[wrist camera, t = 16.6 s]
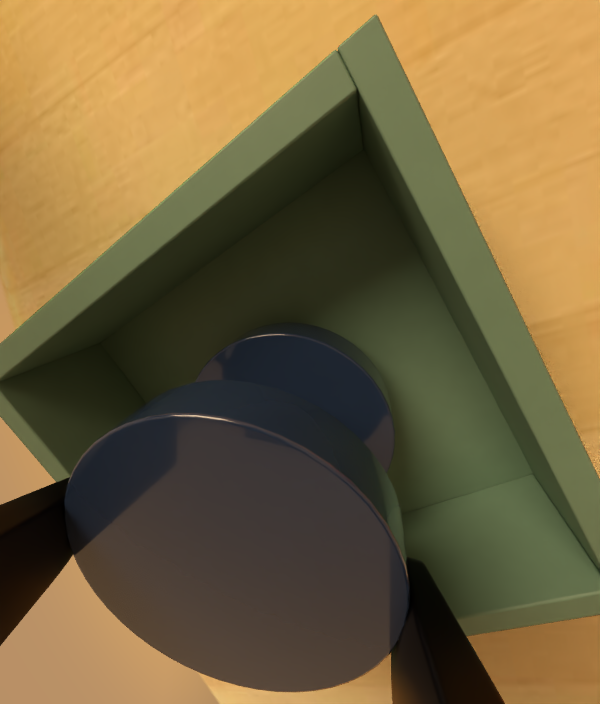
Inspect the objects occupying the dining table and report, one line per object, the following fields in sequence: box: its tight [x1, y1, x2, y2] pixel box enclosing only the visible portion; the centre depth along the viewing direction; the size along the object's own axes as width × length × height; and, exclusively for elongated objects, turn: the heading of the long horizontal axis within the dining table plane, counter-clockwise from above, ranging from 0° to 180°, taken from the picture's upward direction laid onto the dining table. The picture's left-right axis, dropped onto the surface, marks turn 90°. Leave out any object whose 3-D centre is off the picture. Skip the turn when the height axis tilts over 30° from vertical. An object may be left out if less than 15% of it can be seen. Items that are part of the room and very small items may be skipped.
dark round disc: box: [195, 322, 395, 474], centre depth 12 cm, size 7×7×2 cm
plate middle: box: [64, 380, 410, 692], centre depth 8 cm, size 7×7×2 cm
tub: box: [0, 15, 600, 636], centre depth 12 cm, size 15×15×5 cm
